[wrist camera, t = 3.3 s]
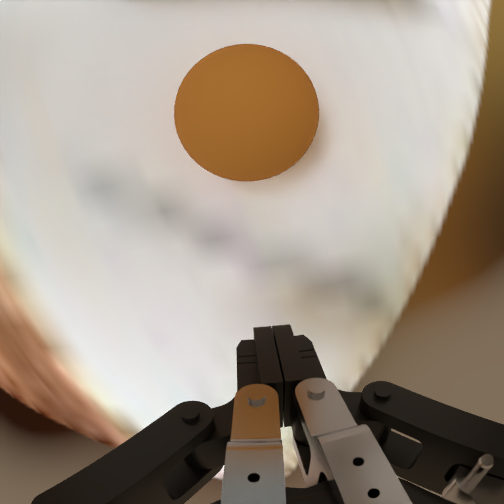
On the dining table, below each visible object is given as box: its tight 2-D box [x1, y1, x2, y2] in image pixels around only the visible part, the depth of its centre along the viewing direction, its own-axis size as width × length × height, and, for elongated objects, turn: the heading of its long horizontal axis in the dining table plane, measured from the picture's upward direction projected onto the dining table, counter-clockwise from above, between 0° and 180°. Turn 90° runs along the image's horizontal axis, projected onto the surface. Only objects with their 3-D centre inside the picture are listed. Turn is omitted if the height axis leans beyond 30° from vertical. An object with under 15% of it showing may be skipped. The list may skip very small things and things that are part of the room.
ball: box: [174, 44, 319, 181], centre depth 12 cm, size 6×6×6 cm
